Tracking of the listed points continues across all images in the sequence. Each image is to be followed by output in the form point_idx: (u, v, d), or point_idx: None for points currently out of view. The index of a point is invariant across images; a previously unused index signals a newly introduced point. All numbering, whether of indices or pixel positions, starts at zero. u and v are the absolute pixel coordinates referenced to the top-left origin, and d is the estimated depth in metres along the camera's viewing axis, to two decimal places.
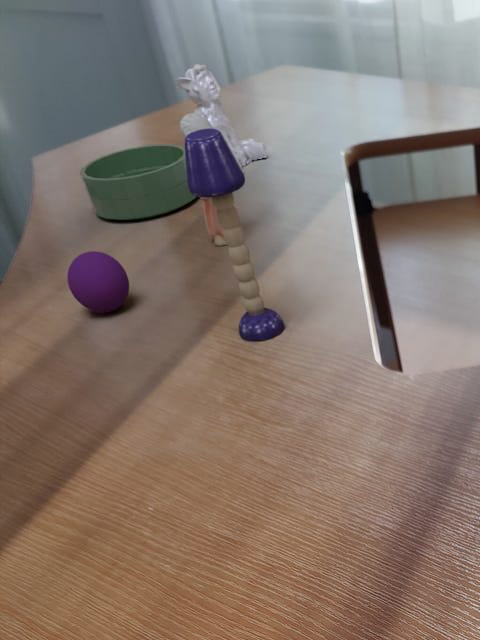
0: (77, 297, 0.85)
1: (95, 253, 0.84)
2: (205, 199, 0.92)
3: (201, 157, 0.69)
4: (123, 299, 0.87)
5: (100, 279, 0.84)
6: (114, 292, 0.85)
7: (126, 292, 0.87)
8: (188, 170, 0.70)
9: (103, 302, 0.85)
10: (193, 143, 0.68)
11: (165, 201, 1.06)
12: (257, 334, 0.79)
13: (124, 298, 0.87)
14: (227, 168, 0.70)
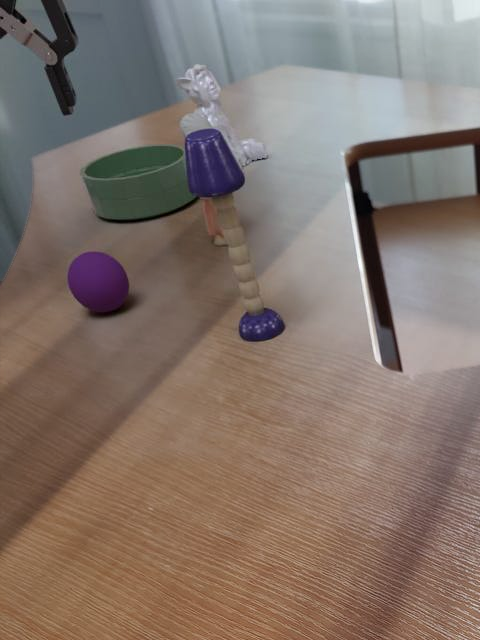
0: (77, 297, 0.85)
1: (95, 253, 0.84)
2: (205, 199, 0.92)
3: (201, 157, 0.69)
4: (123, 299, 0.87)
5: (100, 279, 0.84)
6: (114, 292, 0.85)
7: (126, 292, 0.87)
8: (188, 170, 0.70)
9: (103, 302, 0.85)
10: (193, 143, 0.68)
11: (165, 201, 1.06)
12: (257, 334, 0.79)
13: (124, 298, 0.87)
14: (227, 168, 0.70)
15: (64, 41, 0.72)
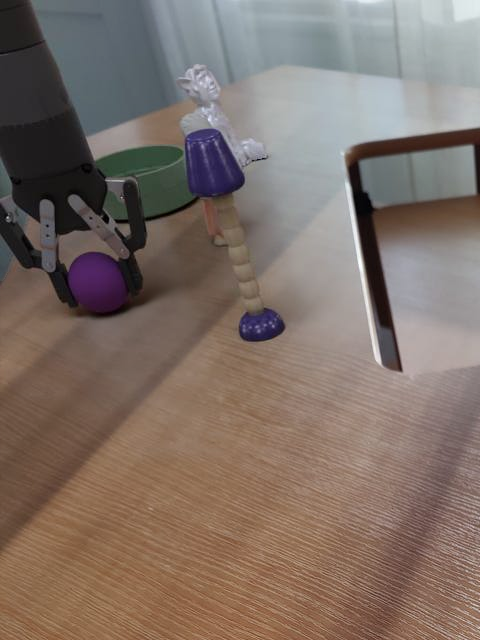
0: (77, 297, 0.85)
1: (95, 253, 0.84)
2: (205, 199, 0.92)
3: (201, 157, 0.69)
4: (124, 300, 0.87)
5: (101, 280, 0.84)
6: (114, 293, 0.85)
7: (126, 292, 0.87)
8: (188, 170, 0.70)
9: (103, 303, 0.85)
10: (193, 143, 0.68)
11: (165, 201, 1.06)
12: (257, 334, 0.79)
13: (124, 298, 0.87)
14: (227, 168, 0.70)
15: (137, 240, 0.83)
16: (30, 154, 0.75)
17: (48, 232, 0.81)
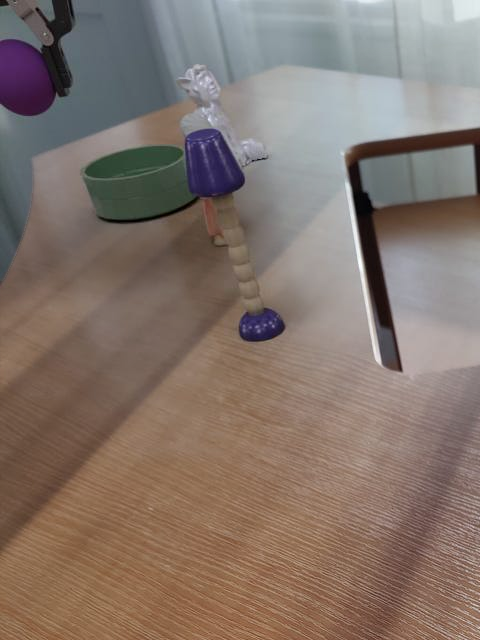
0: None
1: (15, 40, 0.73)
2: (205, 199, 0.92)
3: (201, 157, 0.69)
4: (49, 100, 0.76)
5: (20, 69, 0.73)
6: (37, 87, 0.74)
7: (52, 91, 0.75)
8: (188, 170, 0.70)
9: (24, 99, 0.74)
10: (193, 143, 0.68)
11: (165, 201, 1.06)
12: (257, 334, 0.79)
13: (50, 98, 0.76)
14: (227, 168, 0.70)
15: (62, 21, 0.72)
16: None
17: None
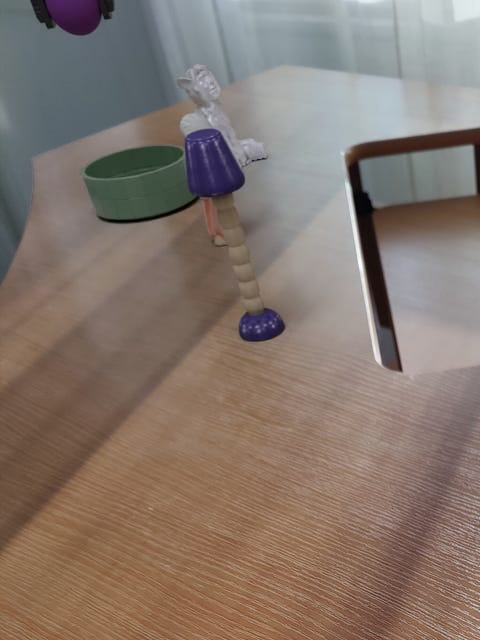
0: (53, 14, 0.92)
1: None
2: (205, 199, 0.92)
3: (201, 157, 0.69)
4: (97, 21, 0.94)
5: None
6: (87, 10, 0.92)
7: (99, 14, 0.94)
8: (188, 170, 0.70)
9: (77, 20, 0.92)
10: (193, 143, 0.68)
11: (165, 201, 1.06)
12: (257, 334, 0.79)
13: (97, 20, 0.94)
14: (227, 168, 0.70)
15: None
16: None
17: None
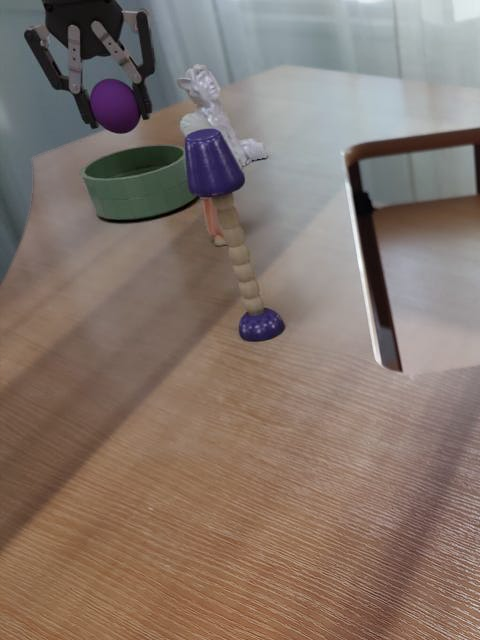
0: (98, 117, 1.02)
1: (113, 79, 1.01)
2: (205, 199, 0.92)
3: (201, 157, 0.69)
4: (136, 122, 1.04)
5: (117, 100, 1.01)
6: (129, 113, 1.02)
7: (138, 115, 1.04)
8: (188, 170, 0.70)
9: (119, 122, 1.02)
10: (193, 143, 0.68)
11: (165, 201, 1.06)
12: (257, 334, 0.79)
13: (137, 121, 1.04)
14: (227, 168, 0.70)
15: (148, 66, 1.00)
16: None
17: (74, 55, 0.98)
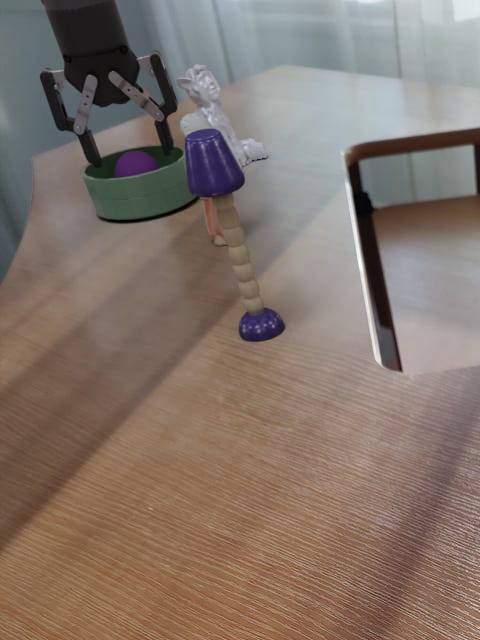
0: None
1: (137, 151, 1.07)
2: (205, 199, 0.92)
3: (201, 157, 0.69)
4: None
5: (142, 172, 1.06)
6: None
7: None
8: (188, 170, 0.70)
9: None
10: (193, 143, 0.68)
11: (165, 201, 1.06)
12: (257, 334, 0.79)
13: None
14: (227, 168, 0.70)
15: (170, 105, 1.03)
16: (81, 34, 0.95)
17: (86, 101, 1.01)
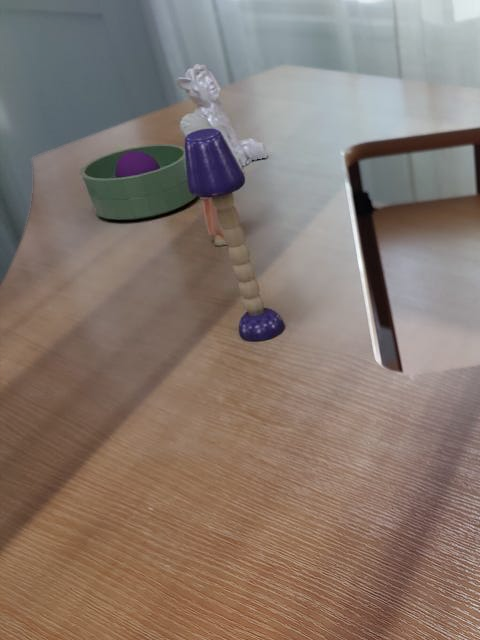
0: None
1: (137, 151, 1.07)
2: (205, 199, 0.92)
3: (201, 157, 0.69)
4: None
5: (142, 172, 1.06)
6: None
7: None
8: (188, 170, 0.70)
9: None
10: (193, 143, 0.68)
11: (165, 201, 1.06)
12: (257, 334, 0.79)
13: None
14: (227, 168, 0.70)
15: None
16: None
17: None
